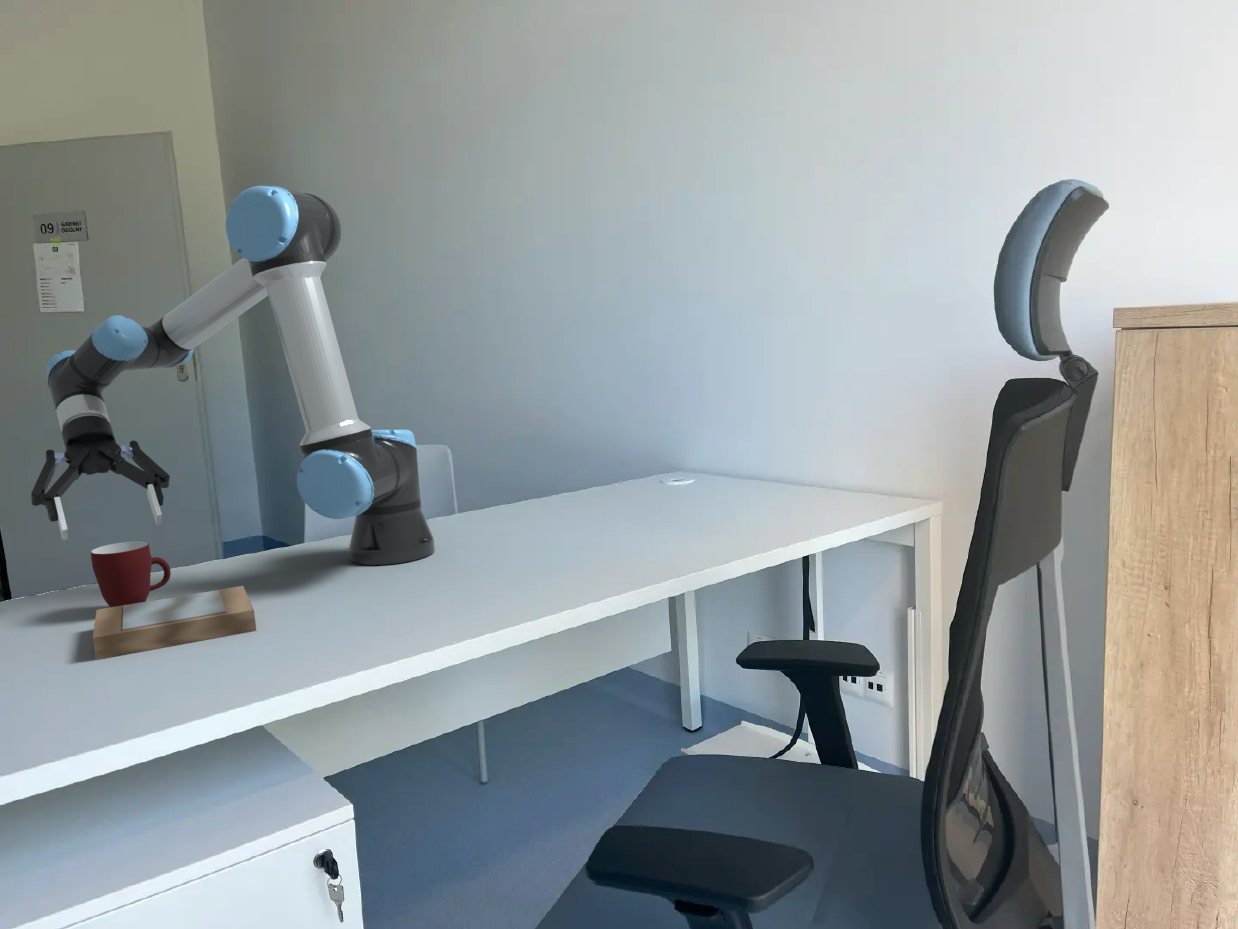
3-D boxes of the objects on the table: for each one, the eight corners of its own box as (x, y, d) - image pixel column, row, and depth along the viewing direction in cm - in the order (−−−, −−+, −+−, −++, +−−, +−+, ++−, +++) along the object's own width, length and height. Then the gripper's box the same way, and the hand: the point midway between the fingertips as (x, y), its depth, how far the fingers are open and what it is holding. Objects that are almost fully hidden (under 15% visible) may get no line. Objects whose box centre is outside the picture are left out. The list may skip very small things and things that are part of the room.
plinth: (245, 604, 149) (242, 584, 149) (256, 630, 136) (253, 608, 135) (99, 629, 140) (96, 608, 140) (95, 659, 127) (92, 636, 127)
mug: (164, 595, 157) (156, 535, 155) (181, 604, 151) (172, 542, 149) (93, 611, 150) (84, 549, 149) (107, 621, 144) (98, 556, 143)
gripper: (163, 433, 174) (193, 527, 164) (1, 451, 160) (23, 555, 150) (166, 405, 169) (197, 500, 159) (-2, 421, 154) (21, 527, 145)
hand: (113, 527), depth 155 cm, fingers open, 13 cm apart
